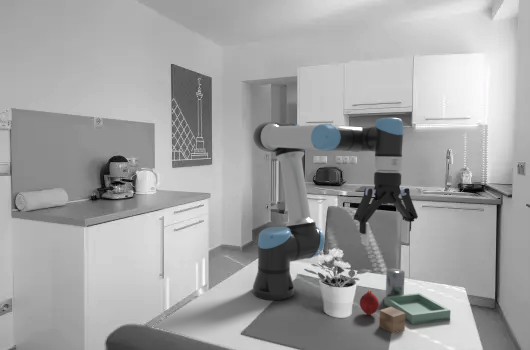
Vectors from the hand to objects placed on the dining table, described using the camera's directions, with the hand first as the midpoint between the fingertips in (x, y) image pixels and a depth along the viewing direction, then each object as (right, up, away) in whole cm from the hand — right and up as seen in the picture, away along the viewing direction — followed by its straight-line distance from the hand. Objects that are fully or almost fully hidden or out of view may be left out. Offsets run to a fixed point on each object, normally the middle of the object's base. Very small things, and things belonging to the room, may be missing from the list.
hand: (385, 243), depth 104 cm
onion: (-2, -24, +8) cm, 26 cm away
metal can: (+10, -24, +21) cm, 33 cm away
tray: (+13, -24, +10) cm, 30 cm away
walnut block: (+2, -25, 0) cm, 25 cm away
